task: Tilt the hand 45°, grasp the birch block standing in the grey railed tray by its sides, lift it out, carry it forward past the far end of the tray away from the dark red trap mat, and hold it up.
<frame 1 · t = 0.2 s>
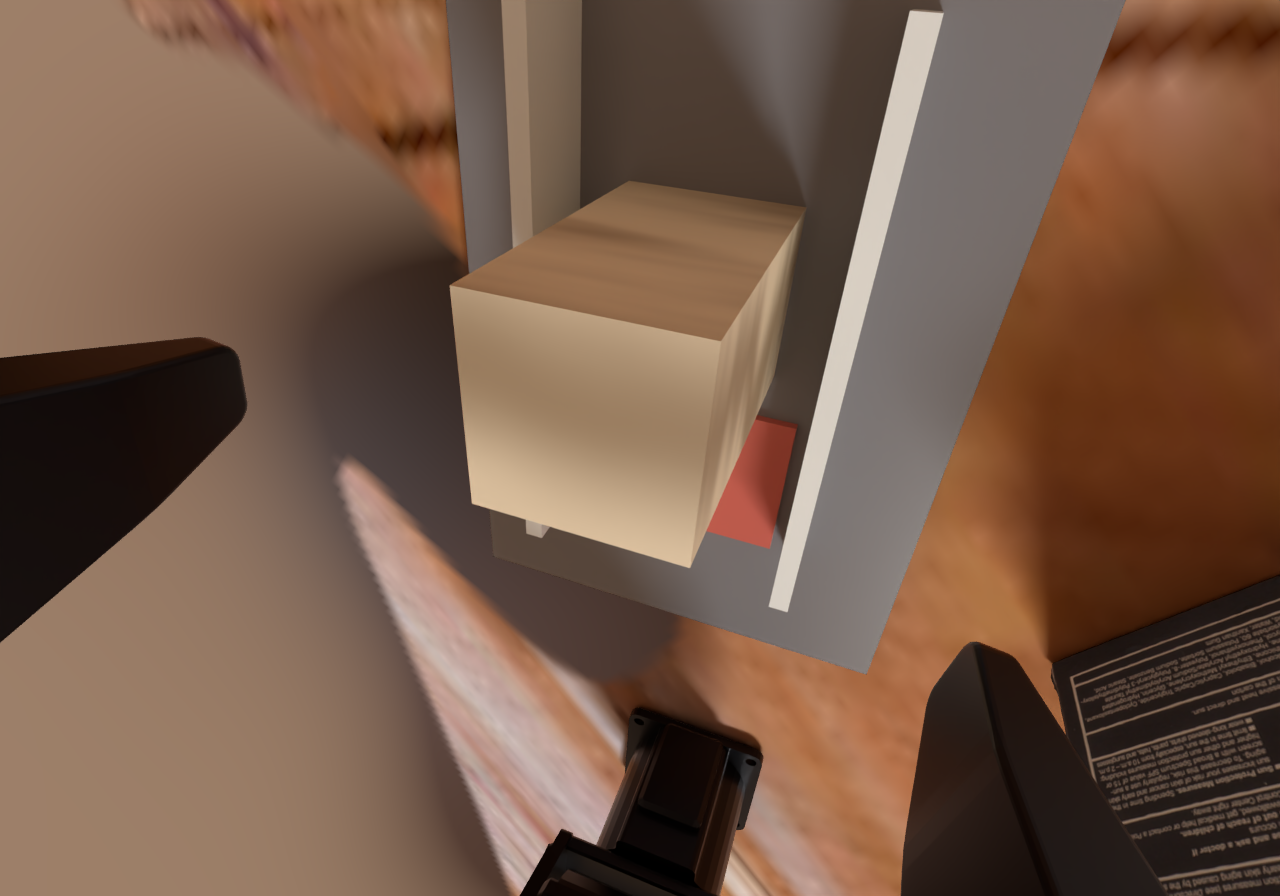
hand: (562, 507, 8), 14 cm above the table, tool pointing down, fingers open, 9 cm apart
birch block: (704, 281, 20), point 1 cm above the table, touching grey railed tray
grey railed tray: (707, 304, 21), on the table
small box: (1271, 659, 21), on the table
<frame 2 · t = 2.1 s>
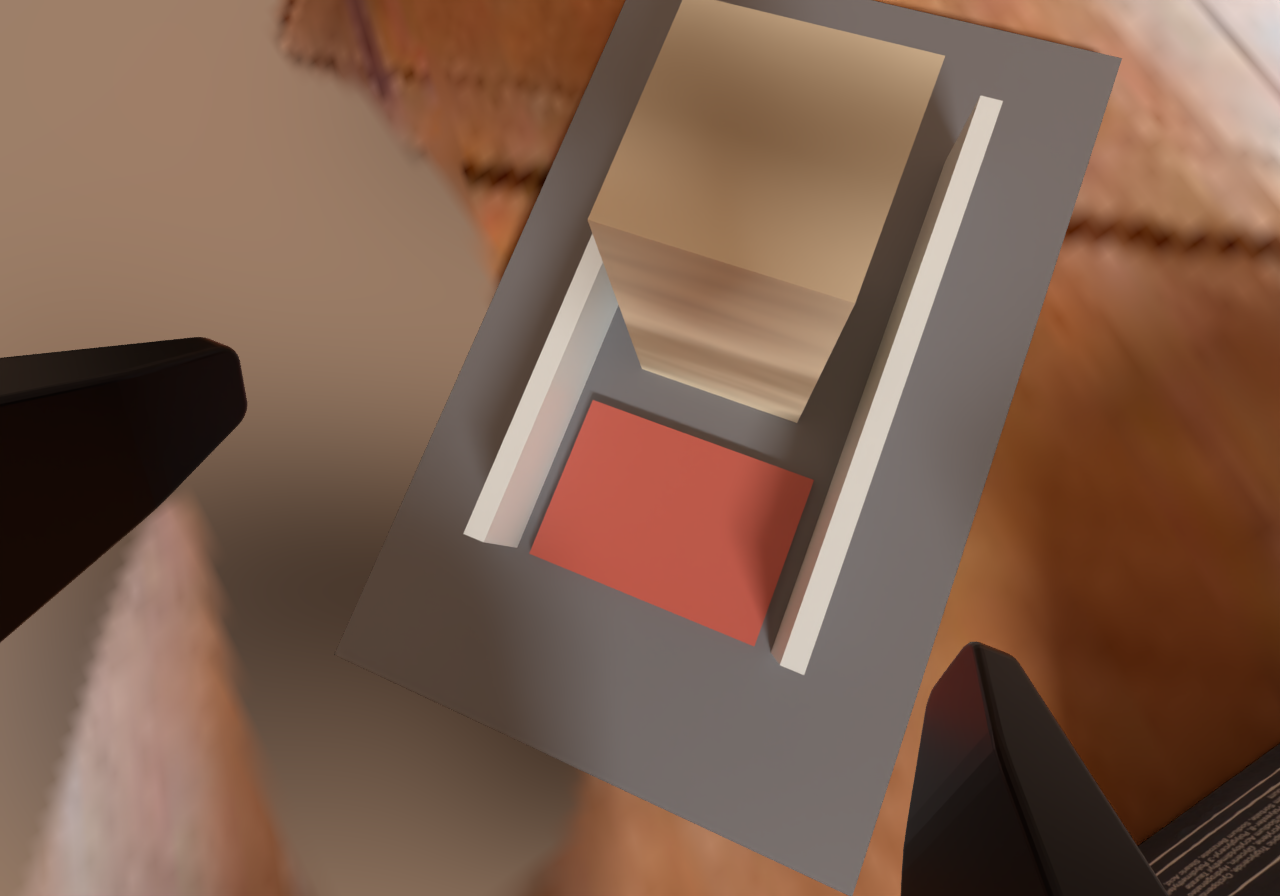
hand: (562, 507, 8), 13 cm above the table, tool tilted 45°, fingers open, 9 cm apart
birch block: (746, 322, 21), point 1 cm above the table, touching grey railed tray
grey railed tray: (734, 359, 22), on the table
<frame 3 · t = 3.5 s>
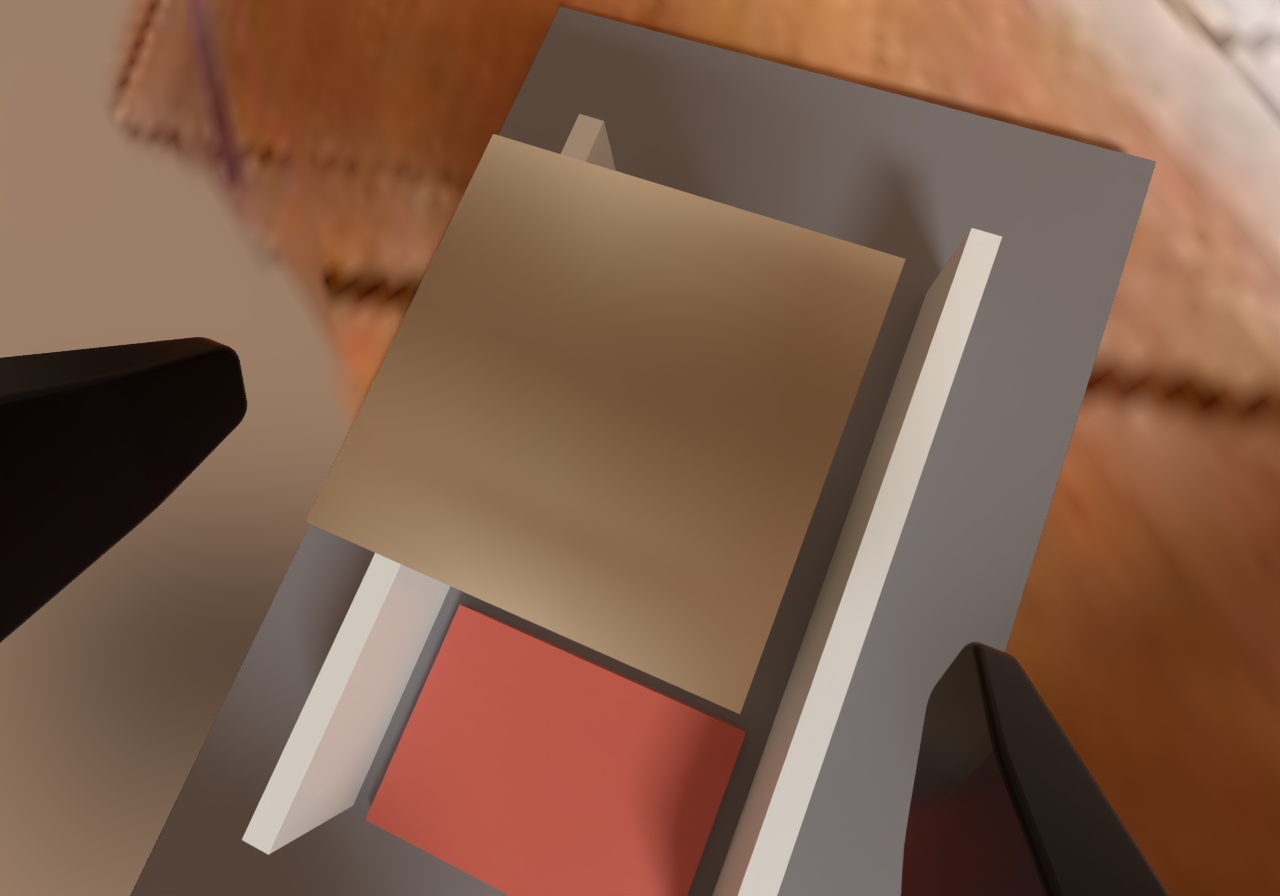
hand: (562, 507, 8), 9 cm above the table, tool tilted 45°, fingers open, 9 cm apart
birch block: (664, 501, 16), point 1 cm above the table, touching grey railed tray
grey railed tray: (652, 543, 17), on the table
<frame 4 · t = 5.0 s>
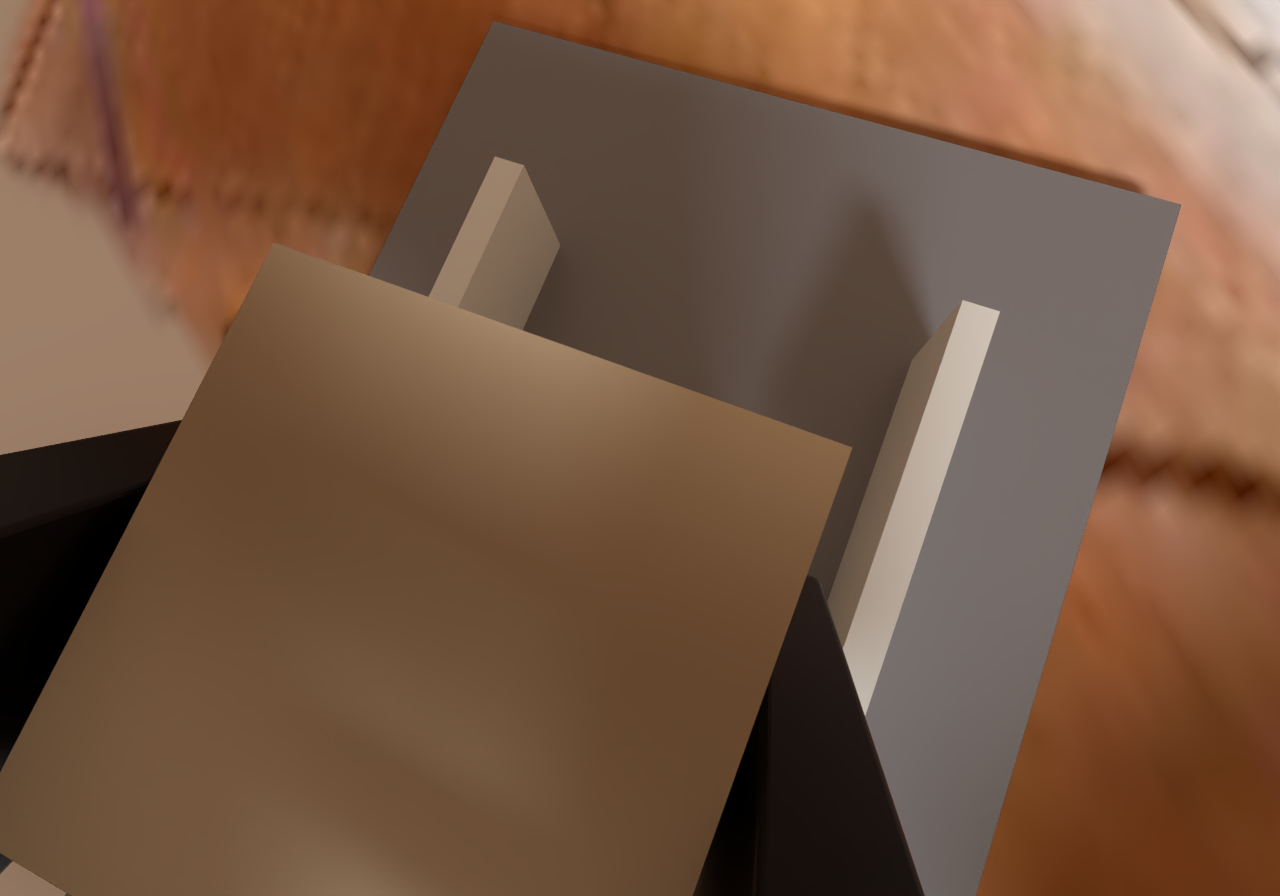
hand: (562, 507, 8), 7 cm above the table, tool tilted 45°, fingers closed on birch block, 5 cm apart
birch block: (604, 608, 14), point 1 cm above the table, touching grey railed tray, gripper
grey railed tray: (592, 653, 14), on the table
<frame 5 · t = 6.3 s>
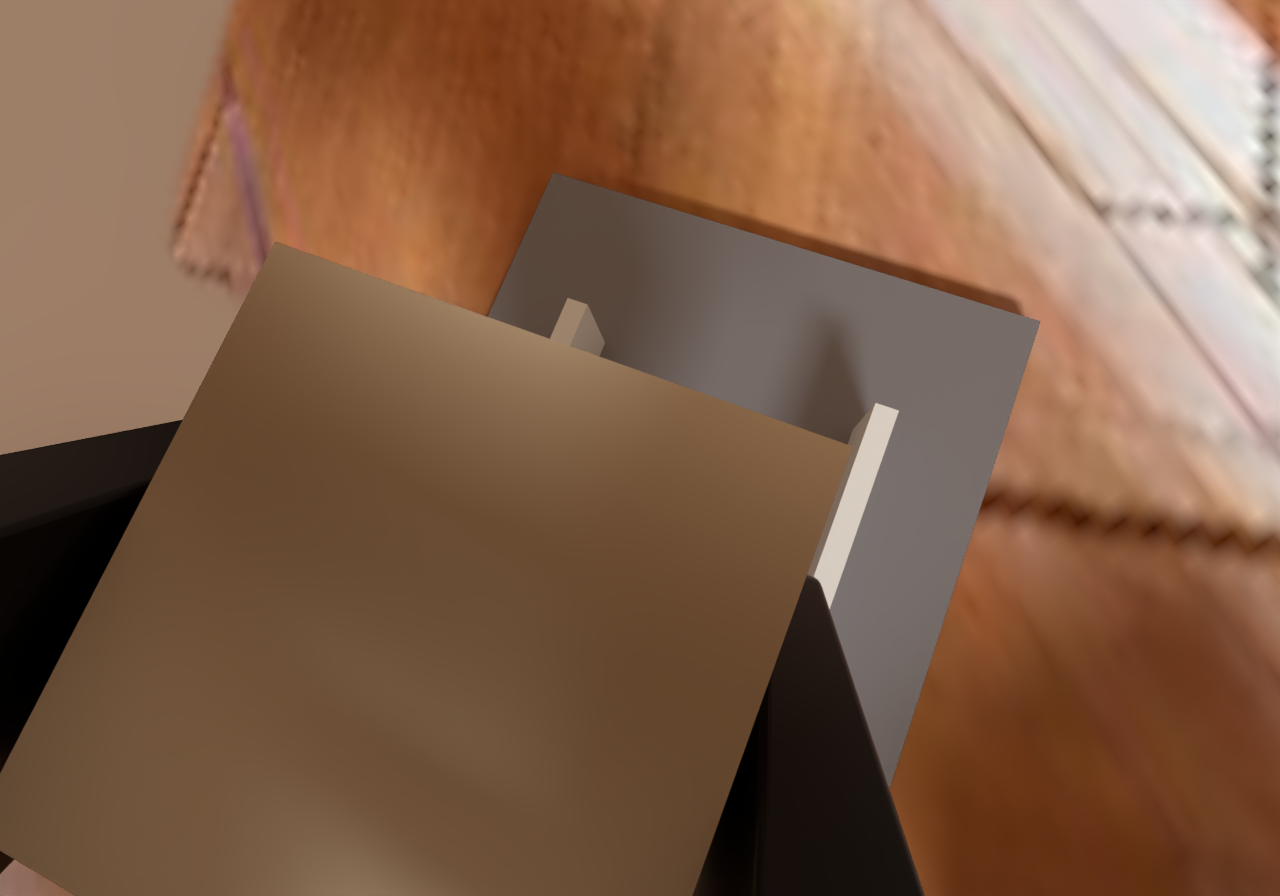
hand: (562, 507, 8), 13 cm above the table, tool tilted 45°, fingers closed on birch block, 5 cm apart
birch block: (604, 608, 14), point 7 cm above the table, touching gripper
grey railed tray: (629, 633, 21), on the table
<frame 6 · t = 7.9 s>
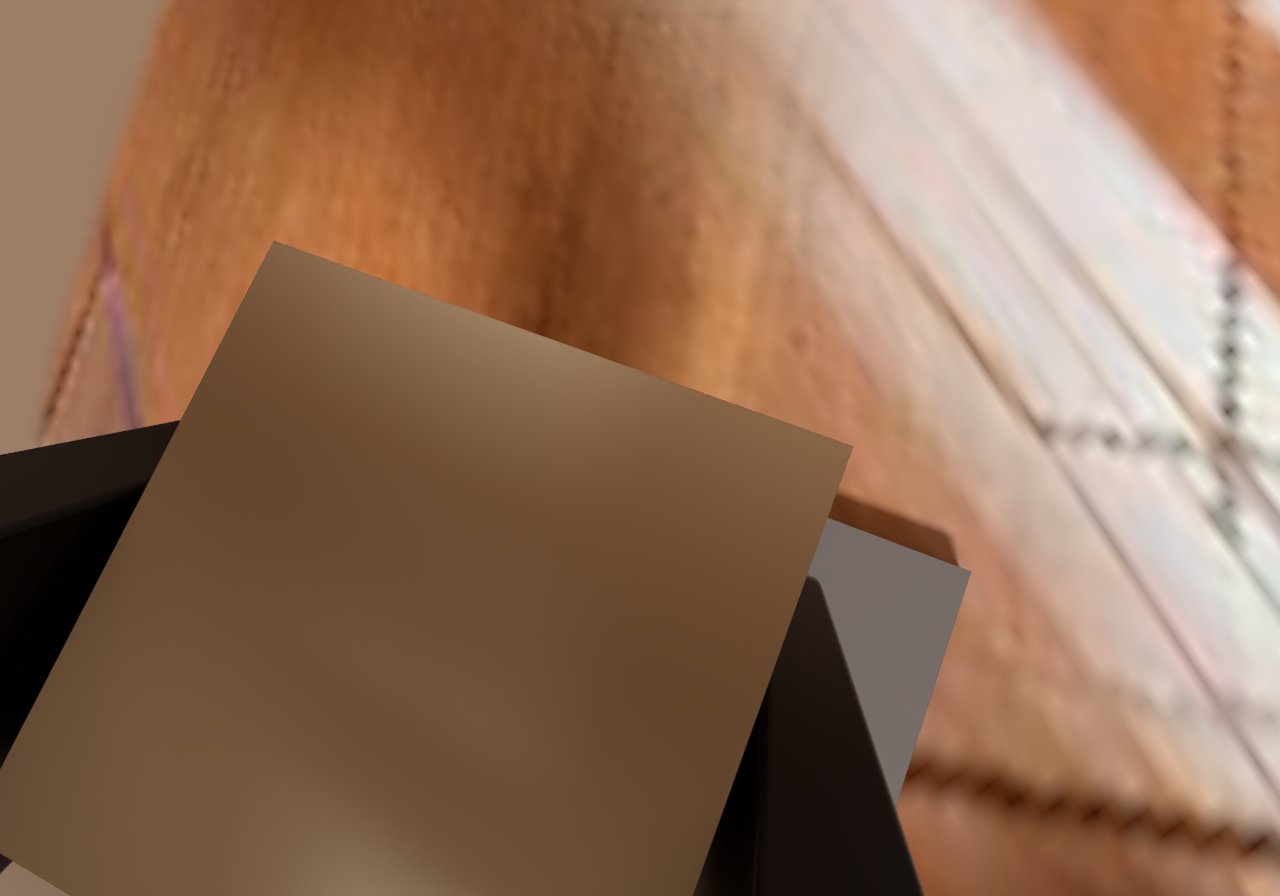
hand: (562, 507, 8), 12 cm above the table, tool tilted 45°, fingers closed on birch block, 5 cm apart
birch block: (604, 608, 14), point 6 cm above the table, touching gripper
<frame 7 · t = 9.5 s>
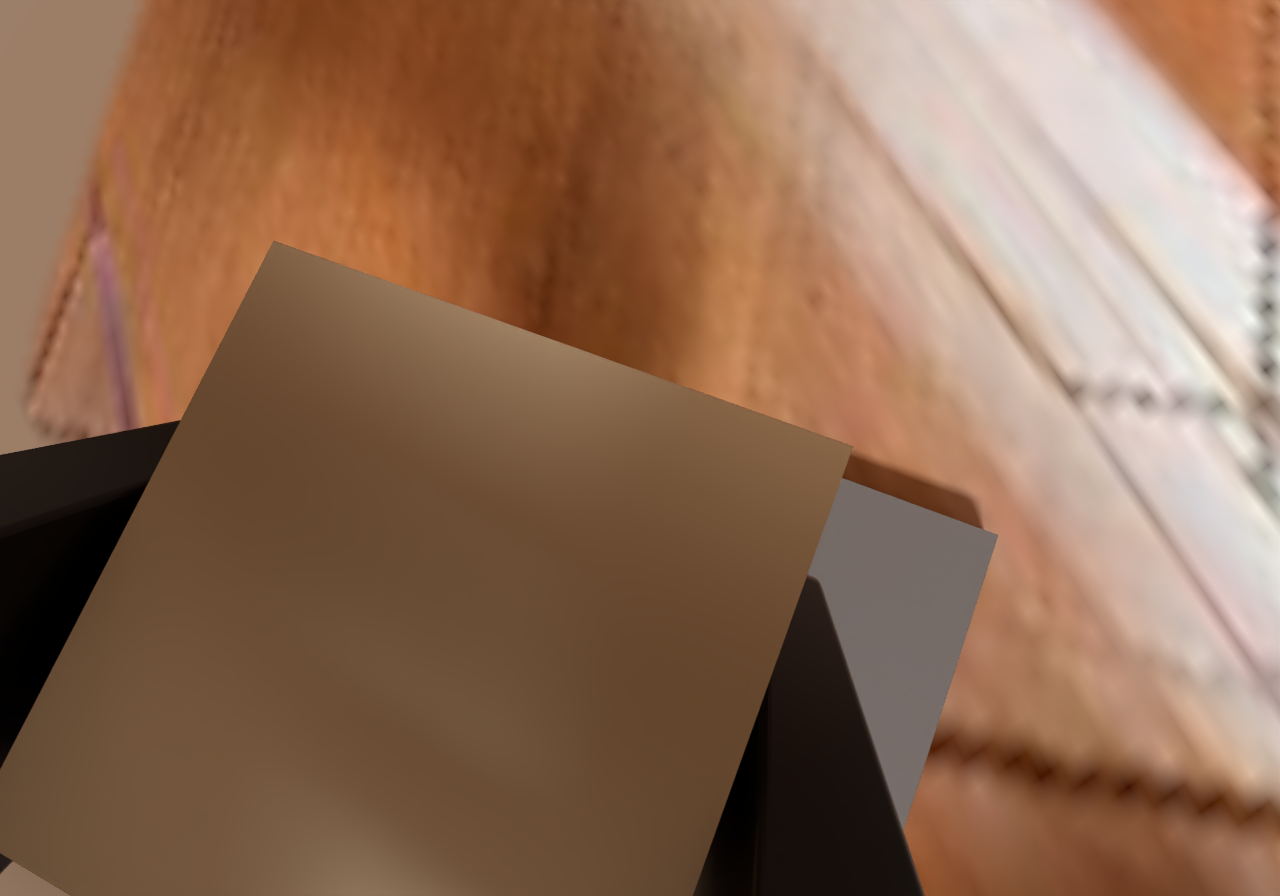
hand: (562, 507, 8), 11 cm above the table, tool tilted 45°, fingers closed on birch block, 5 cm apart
birch block: (604, 608, 14), point 5 cm above the table, touching gripper
grey railed tray: (520, 893, 18), on the table
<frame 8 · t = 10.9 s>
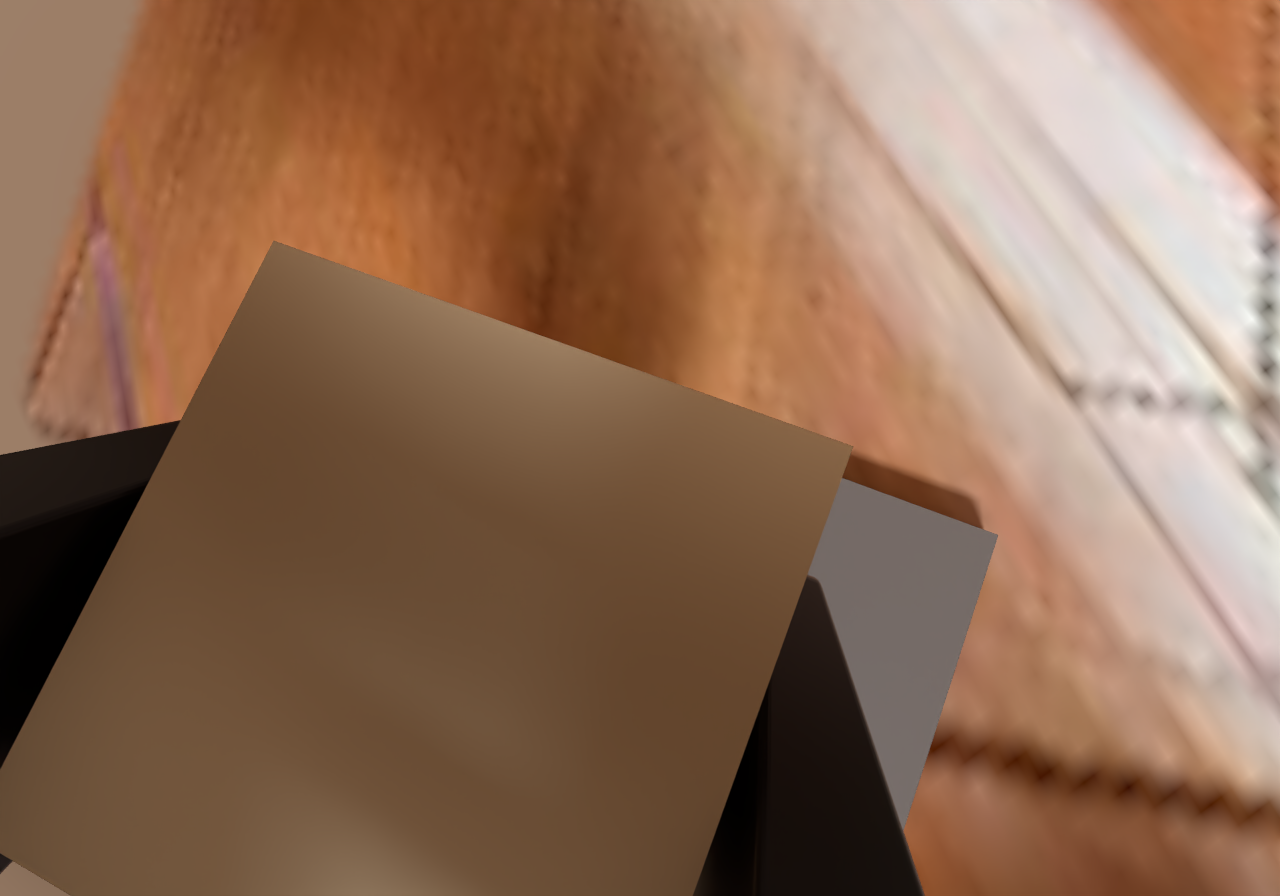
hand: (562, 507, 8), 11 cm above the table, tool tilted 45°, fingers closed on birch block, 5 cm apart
birch block: (604, 608, 14), point 5 cm above the table, touching gripper
grey railed tray: (520, 893, 18), on the table
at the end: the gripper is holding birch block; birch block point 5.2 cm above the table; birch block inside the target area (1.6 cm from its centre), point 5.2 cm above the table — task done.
